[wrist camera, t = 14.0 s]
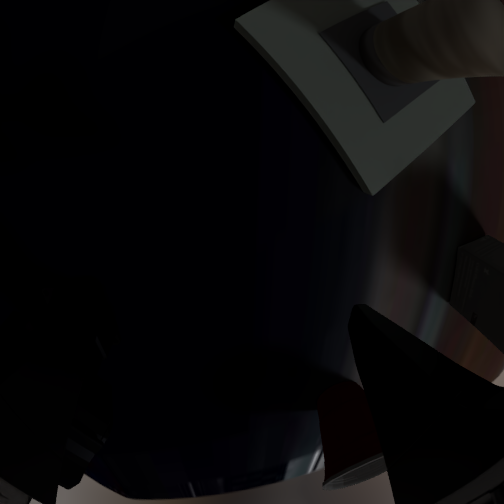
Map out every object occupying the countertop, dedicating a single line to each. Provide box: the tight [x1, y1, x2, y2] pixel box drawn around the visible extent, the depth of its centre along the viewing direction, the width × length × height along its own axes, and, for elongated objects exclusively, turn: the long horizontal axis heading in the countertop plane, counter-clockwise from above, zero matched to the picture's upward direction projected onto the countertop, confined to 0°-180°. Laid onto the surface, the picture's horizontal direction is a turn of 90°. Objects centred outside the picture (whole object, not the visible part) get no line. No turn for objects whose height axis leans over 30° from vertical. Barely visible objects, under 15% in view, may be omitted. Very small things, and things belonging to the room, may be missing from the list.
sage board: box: [234, 0, 475, 196], centre depth 16 cm, size 16×16×2 cm
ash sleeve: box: [359, 0, 504, 86], centre depth 10 cm, size 5×5×11 cm
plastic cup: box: [317, 381, 387, 490], centre depth 25 cm, size 11×11×12 cm
